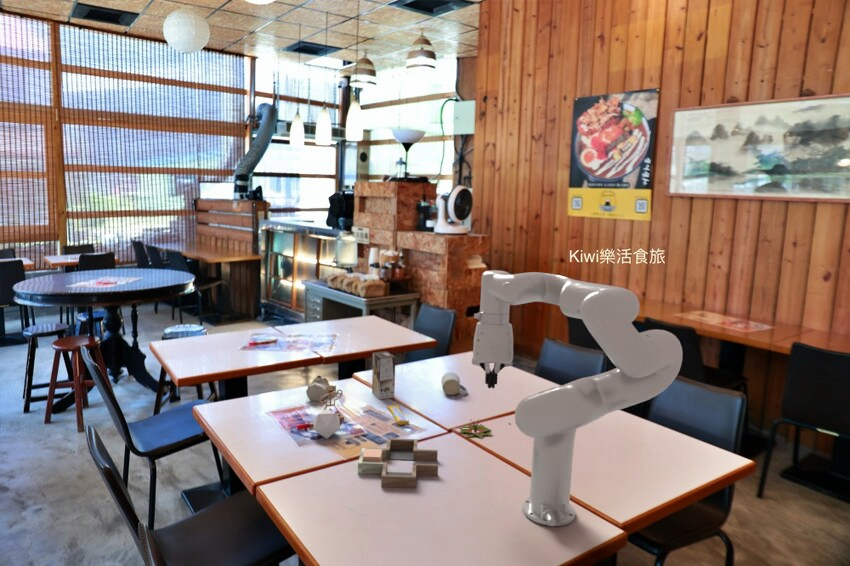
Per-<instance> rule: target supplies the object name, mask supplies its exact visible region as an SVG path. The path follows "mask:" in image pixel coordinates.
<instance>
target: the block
mask: <svg viewBox="0 0 850 566" xmlns="http://www.w3.org/2000/svg"><path fill="white" fill-rule="evenodd" d="M363 462H383V459H382V449H365V450H364V454H363Z"/></svg>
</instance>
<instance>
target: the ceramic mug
mask: <svg viewBox="0 0 850 566" xmlns="http://www.w3.org/2000/svg"><path fill="white" fill-rule="evenodd" d="M441 387H442V390H443V392H444V394H446V395H448V396H455V395H457V394H458V393H459V394H462V395H463V396H464V395H467V393H468V392H469V391H468V389H467V388H466V387H465V386H464V385H462V384H461V380H460V376H459V375H458V374H456V373H455V372H446V373H444V374H443V376H442V378H441Z"/></svg>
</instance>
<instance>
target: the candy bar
mask: <svg viewBox="0 0 850 566" xmlns="http://www.w3.org/2000/svg"><path fill="white" fill-rule="evenodd" d="M387 409H388V410H389V411H390V413H391V415H392V417H393V418H394V421H396V423H397V425H398V426H402V425H403V424H404V425H409V423H410V421H409V420H407V418H406V417H405V416H404V415H403V412H402V411H401V409H400V405H399V404H391V405H387Z"/></svg>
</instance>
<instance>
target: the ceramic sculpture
mask: <svg viewBox="0 0 850 566" xmlns="http://www.w3.org/2000/svg"><path fill="white" fill-rule="evenodd" d="M329 385H330V383H329V380H328V379H327V378H326V377H322V376H321V375H316V377H314V379H313V380H312V381H311V383H309V385H307V389H306V390H305V391H306V392H305V393H306V396H307V398H308V399H309V400H310V401H313V402H319V400H320V398H321V397H322V396H325V395H327V394H328V393H332V392H335V390H333V391H331V390H330V391H326V393H327V392H328V393H327V394H326V393H325V389H326V387H327V386H329ZM333 386H334V387H335V388H336V389H337V385H333ZM334 387H332V386H330V387H328V388H327V390H328V389H335V388H334ZM324 399H325V397H323V398H322V399H321V400H320V401H323V400H324Z"/></svg>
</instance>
